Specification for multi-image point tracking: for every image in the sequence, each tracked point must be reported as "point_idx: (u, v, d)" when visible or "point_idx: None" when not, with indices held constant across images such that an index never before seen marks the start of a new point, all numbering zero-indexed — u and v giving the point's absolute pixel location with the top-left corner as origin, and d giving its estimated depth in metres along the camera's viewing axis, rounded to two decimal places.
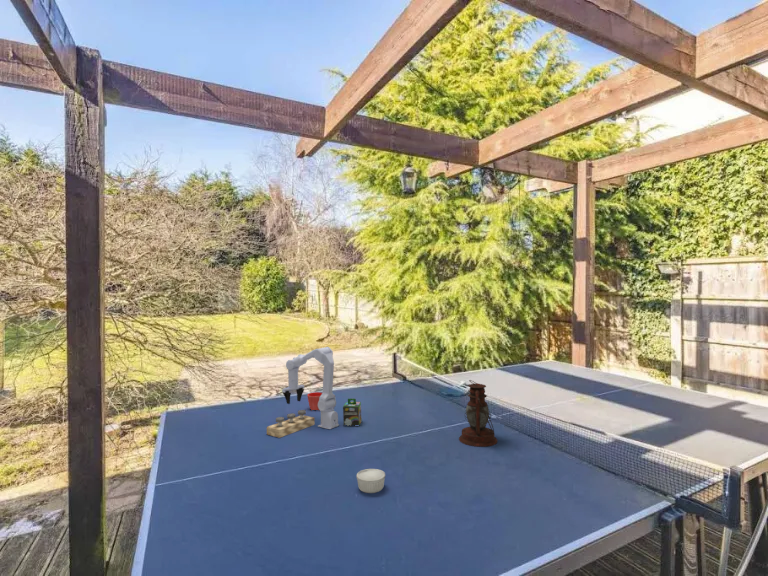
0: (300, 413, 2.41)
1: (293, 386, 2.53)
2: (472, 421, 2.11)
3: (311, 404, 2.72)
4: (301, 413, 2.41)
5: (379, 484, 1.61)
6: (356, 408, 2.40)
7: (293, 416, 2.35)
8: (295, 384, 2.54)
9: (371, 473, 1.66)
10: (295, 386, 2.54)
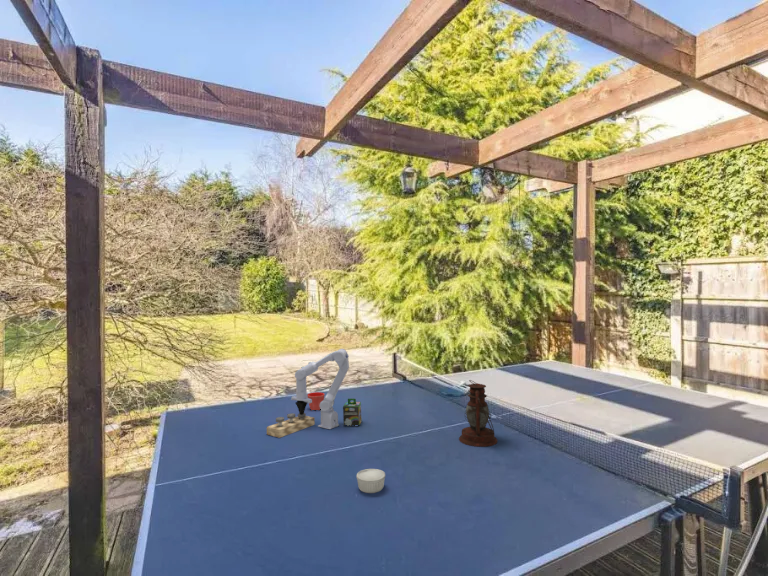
0: (300, 416, 2.41)
1: (296, 396, 2.42)
2: (472, 421, 2.11)
3: (311, 404, 2.72)
4: (301, 416, 2.41)
5: (379, 484, 1.61)
6: (356, 408, 2.40)
7: (293, 416, 2.35)
8: (297, 395, 2.41)
9: (371, 473, 1.66)
10: (297, 397, 2.41)
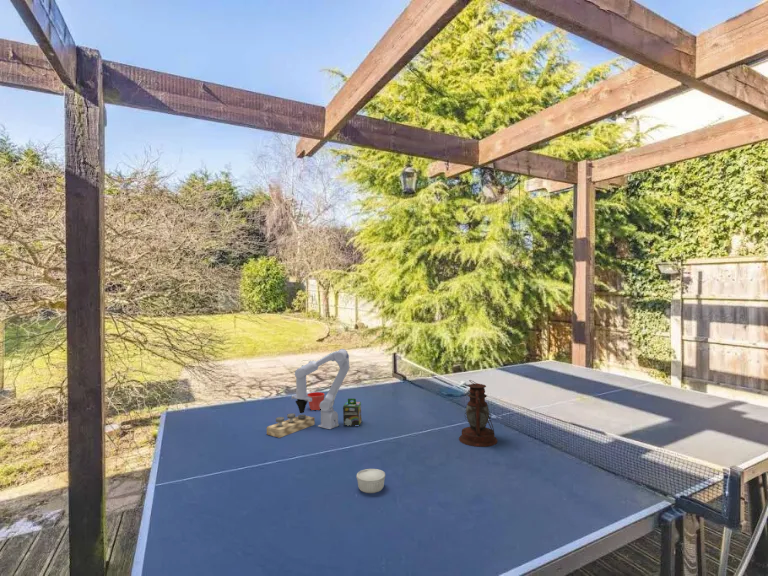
0: (300, 418, 2.41)
1: (296, 395, 2.42)
2: (472, 421, 2.11)
3: (311, 404, 2.72)
4: (301, 418, 2.41)
5: (379, 484, 1.61)
6: (356, 408, 2.40)
7: (293, 416, 2.35)
8: (297, 394, 2.41)
9: (371, 473, 1.66)
10: (297, 396, 2.41)
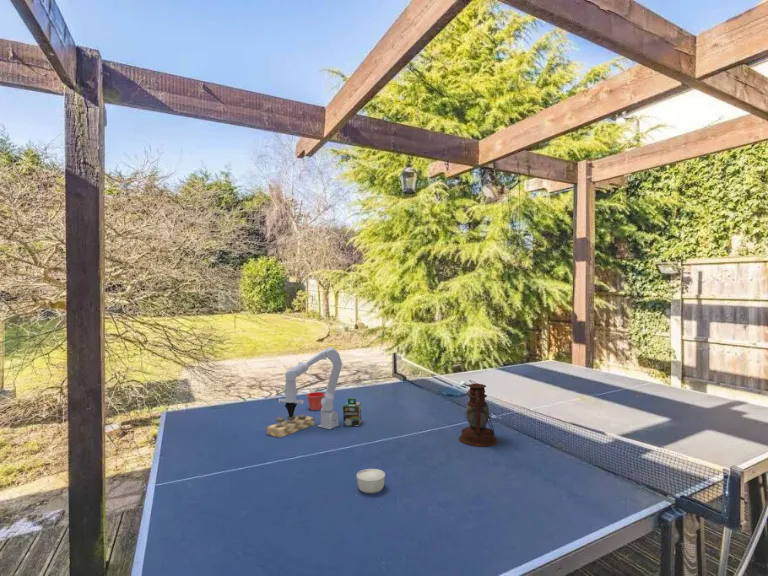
0: (300, 418, 2.41)
1: (286, 399, 2.35)
2: (472, 421, 2.11)
3: (311, 404, 2.72)
4: (301, 418, 2.41)
5: (379, 484, 1.61)
6: (356, 408, 2.40)
7: (293, 418, 2.35)
8: (287, 397, 2.34)
9: (371, 473, 1.66)
10: (287, 399, 2.34)
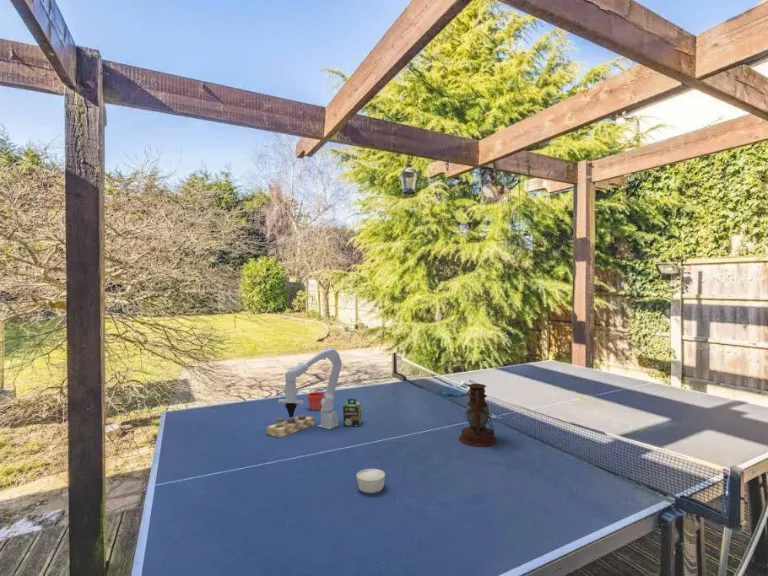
0: (300, 418, 2.41)
1: (286, 399, 2.35)
2: (472, 421, 2.11)
3: (311, 404, 2.72)
4: (301, 418, 2.41)
5: (379, 484, 1.61)
6: (356, 408, 2.40)
7: (293, 421, 2.35)
8: (287, 397, 2.34)
9: (371, 473, 1.66)
10: (287, 400, 2.34)
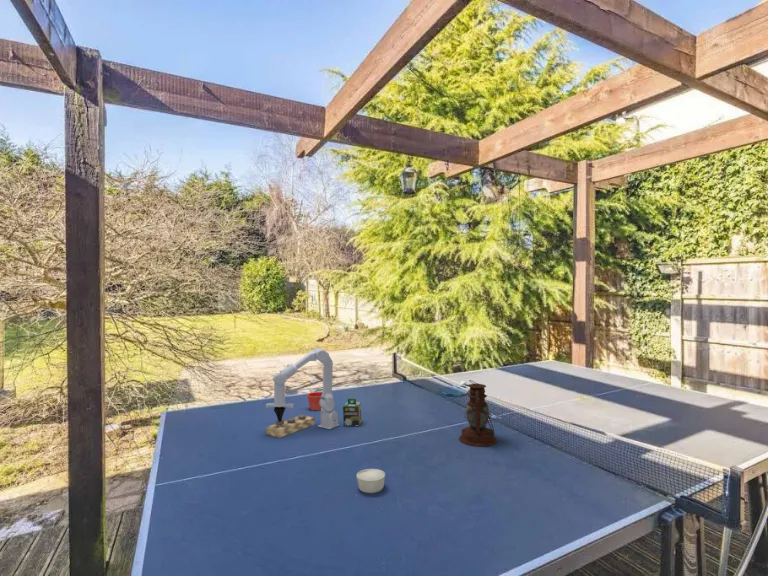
0: (300, 418, 2.41)
1: (275, 403, 2.28)
2: (472, 421, 2.11)
3: (311, 404, 2.72)
4: (301, 418, 2.41)
5: (379, 484, 1.61)
6: (356, 408, 2.40)
7: (293, 421, 2.35)
8: (277, 401, 2.27)
9: (371, 473, 1.66)
10: (277, 403, 2.27)
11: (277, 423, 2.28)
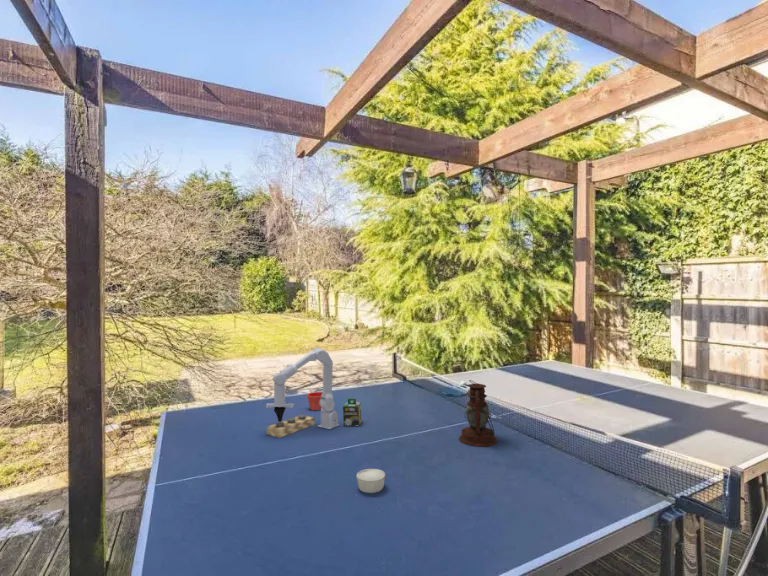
0: (300, 418, 2.41)
1: (275, 403, 2.28)
2: (472, 421, 2.11)
3: (311, 404, 2.72)
4: (301, 418, 2.41)
5: (379, 484, 1.61)
6: (356, 408, 2.40)
7: (293, 421, 2.35)
8: (277, 401, 2.27)
9: (371, 473, 1.66)
10: (277, 403, 2.27)
11: (277, 425, 2.28)
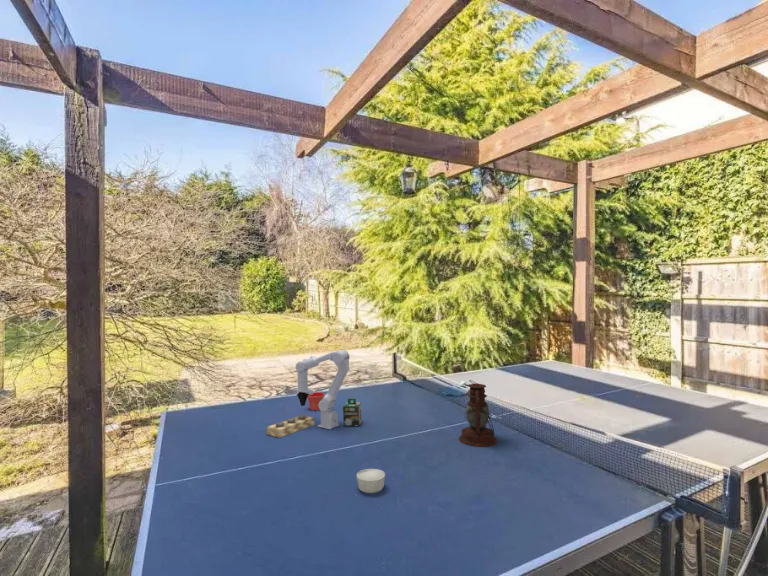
0: (300, 418, 2.41)
1: (297, 388, 2.46)
2: (472, 421, 2.11)
3: (311, 404, 2.72)
4: (301, 418, 2.41)
5: (379, 484, 1.61)
6: (356, 408, 2.40)
7: (293, 421, 2.35)
8: (298, 387, 2.45)
9: (371, 473, 1.66)
10: (298, 389, 2.45)
11: (277, 425, 2.28)
